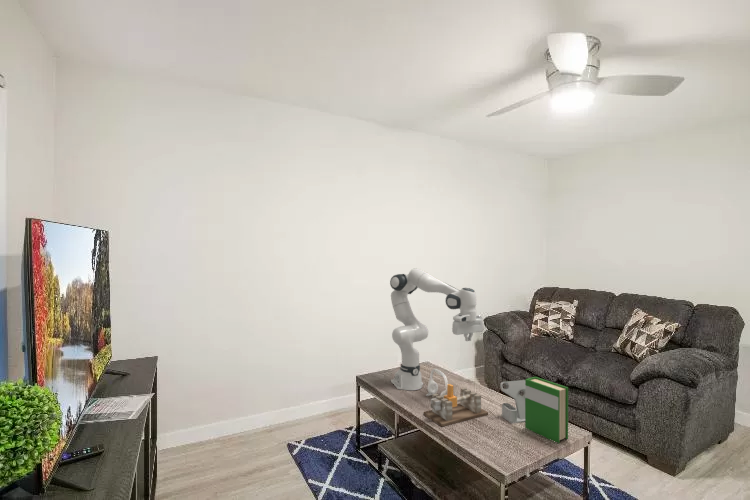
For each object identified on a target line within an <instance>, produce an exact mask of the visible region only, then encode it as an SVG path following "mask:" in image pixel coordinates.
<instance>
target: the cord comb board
mask: <svg viewBox="0 0 750 500" xmlns="http://www.w3.org/2000/svg"><path fill="white" fill-rule="evenodd" d="M459 390H460V396H456V397H457V402H459V403H457V406H456V407H452V402H451V401H448V399H446V398H445V399H443V397H442V396H440V394H439V393H437V392H436V393H435V394H432V395H431V397H432V398H430V408H431V409H429V410H426V411H423V416H425V417H426V418H428V419H429V420H430V421H432V422H434V423H435V424H437V425H438V426H440V427H441V428H443V427H444V428H445V427H448V426H452V425H456V424H459V423H463V422H466V421H467V422H468V421H470V420H475V419H478V418H482V417H485V416H489V411H486V410H485V409H483V408H482V395H481V394H479V393H477V392H475V391H472V390H471V389H468V388H467V387H460V389H459Z"/></svg>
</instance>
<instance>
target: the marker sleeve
mask: <svg viewBox="0 0 750 500" xmlns="http://www.w3.org/2000/svg"><path fill="white" fill-rule="evenodd" d="M457 397H458V396H455V395H454V385H453V384H451V383H448V384H447V395H445V396H444V399H445V398H446V399H448V401H451V402H452V407H456V406H457V404H458V401H457Z"/></svg>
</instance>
